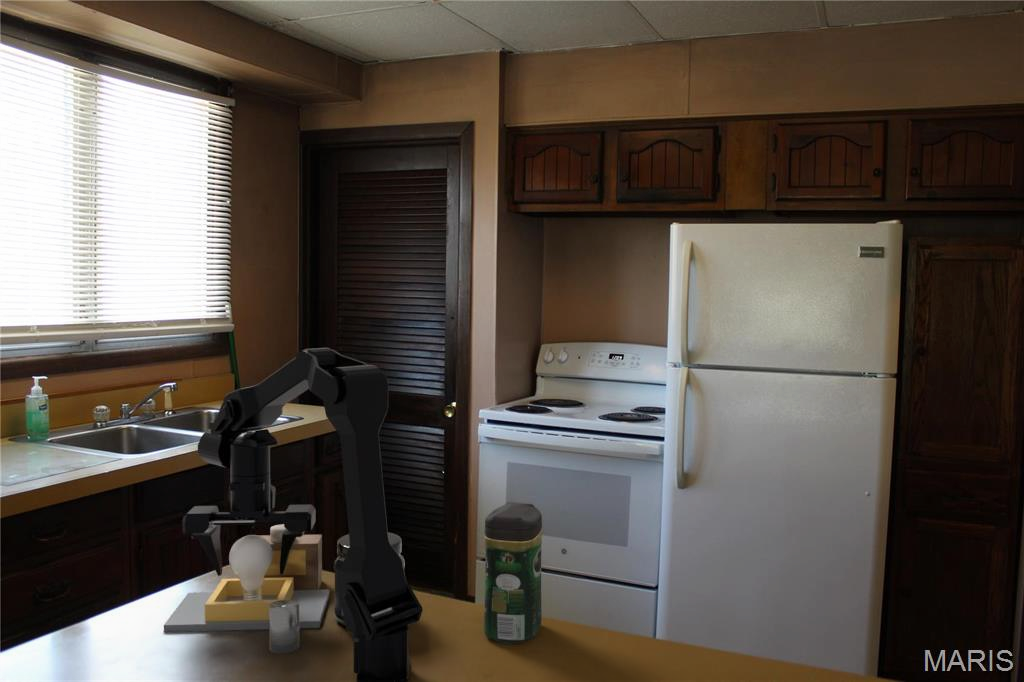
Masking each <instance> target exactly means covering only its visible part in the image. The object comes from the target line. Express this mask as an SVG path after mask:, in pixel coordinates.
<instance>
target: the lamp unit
mask: <svg viewBox="0 0 1024 682" xmlns="http://www.w3.org/2000/svg"><path fill="white" fill-rule="evenodd" d="M285 529H286V528H285V527H284V524H274V525H273V526H271V527H270V530H269V531H270V534H269V535H268V534H267V535H260V536H261V537H263V538H264V539H266V540H267V541H268V542H269V544H270V545H271V547H272V551H273V559H272V563H271V565H270V567H269V569H268V570H267V572H266V574H265V576H264V578H282V577H294V590H320V587H321V585H322V582H323V534H303V536H302V537H296V539H295V541H294V543H293V545H292V548H291V551H290V554H289V558H288V561H287V564H286V567H285V570H284V573H283V574H280V556H281V544H282V534H283V532H284V531H285Z"/></svg>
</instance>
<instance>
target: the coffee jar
mask: <svg viewBox="0 0 1024 682" xmlns="http://www.w3.org/2000/svg"><path fill="white" fill-rule="evenodd" d="M542 534H543V518H542V513H541V511H540V510H539V509H538V508H537V507H535V506H534V505H533V504H532V503H526V502H511V501H508V502H506V503H505V504H503V505H501V506H499V507H497V508H495V509H494V510H492V511H491V512H490V513H489V514H487V516H486V517H485V519H484V535H483V538H484V552H485V553H484V554H485V571H484V573H485V574H484V575H485V576H484V578H485V579H484V610H483V611H484V613H483V618H484V619H483V632H484V635H485V636H486V637H487V638H489V639H492V640H494V641H497V642H499V643H502V644H508V645H509V644H511V645H512V644H515V643H516V644H518V643H527V642H530V641H532V640H533V638H534V637H536V635H537V634H538V632H539V630H540V628H541V625H542V615H543V614H542V544H543V543H542V538H543V535H542Z"/></svg>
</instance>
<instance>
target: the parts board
mask: <svg viewBox="0 0 1024 682" xmlns="http://www.w3.org/2000/svg"><path fill="white" fill-rule="evenodd" d="M261 592H262V593H261V594H262V596H261V597H262V601H244V599H243V598H244V596H243V595H244V594H243V588H242V586H241V583H240V579H239V577H238V578H222V579H221V580H220V581H219V583H218V585H217V586H216V588H215V589H214V591H211V592H210V591H208V592H187V594H186V596H184V598H183V599H182V600H181V602H180V603H179V604H178V606H177V607H176V608H175V610H174V611H173V612H172V614H171V615H170V616H169V618H168V619H167V620H166V621H165V622H164V624H163V632H164V633H174V632H175V633H176V632H178V633H179V632H211V631H213V632H214V631H215V632H216V631H247V630H249V631H251V630H269V605H270V604H271V603H273V602H276V601H280V600H294V601H297V602H298V603H299V629H319V628H321V623H322V621H323V618H324V614H325V612H326V608H327V604H328V602H329V598H330V589H319V590H294V577H282V578H264V581H263V585H262V590H261ZM327 601H328V602H327Z"/></svg>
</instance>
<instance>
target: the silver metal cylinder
mask: <svg viewBox="0 0 1024 682" xmlns="http://www.w3.org/2000/svg"><path fill="white" fill-rule="evenodd" d="M268 632H269V633H268V636H269V638H268V639H269V640H268V644H269V645H268V648H269V651H270V652H271V653H274V654H278V655H280V654H281V655H283V654H290V653H293V652H296V651H297V650H298V649H299V648H300V628H299V603H298V602H297V601H294V600H280V601H276V602H273V603H271V604H270V605H269V629H268Z"/></svg>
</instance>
